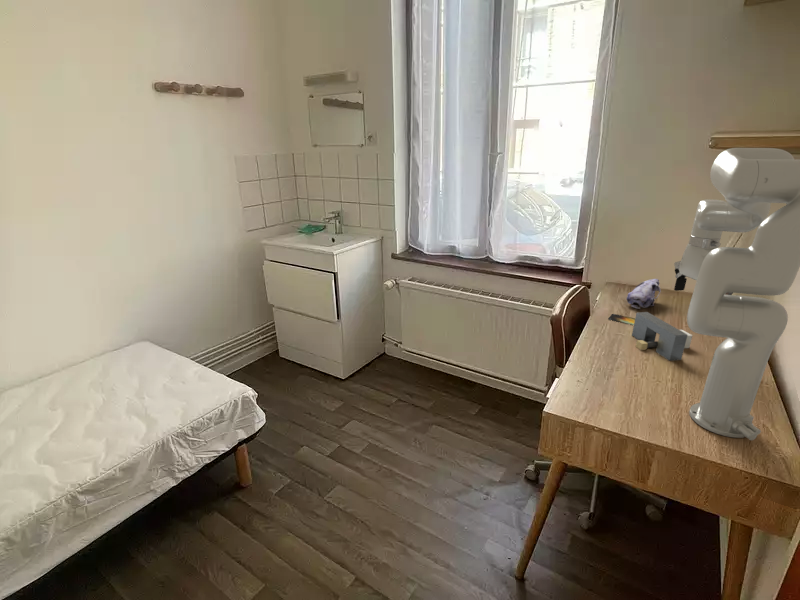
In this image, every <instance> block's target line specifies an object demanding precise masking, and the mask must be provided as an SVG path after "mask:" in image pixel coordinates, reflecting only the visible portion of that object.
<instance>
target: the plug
mask: <svg viewBox="0 0 800 600" xmlns="http://www.w3.org/2000/svg"><path fill="white" fill-rule="evenodd" d="M679 330H680V331H682V332H684V333H685V334H687V339H686V343H685V347H684V349H690V346H691V343H692V339H693V334H692V333H689V332H687V331H685V330H683V329H679ZM657 344H658V340H655V342H645V341H643V340H638V339H636V344H635V347H636V348H637V349H638V350H640V351H644V350H645V351H646V350H647V349H648V348H657Z"/></svg>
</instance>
